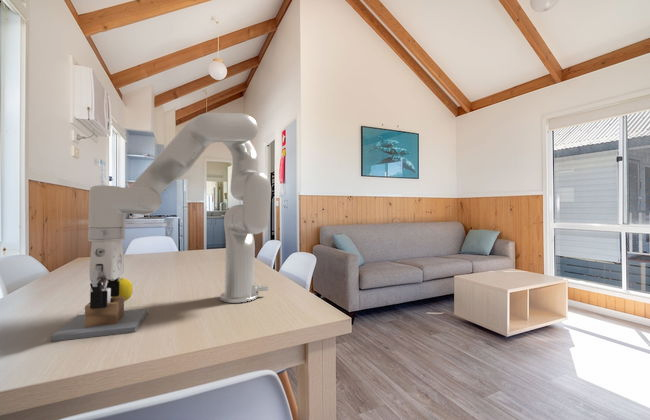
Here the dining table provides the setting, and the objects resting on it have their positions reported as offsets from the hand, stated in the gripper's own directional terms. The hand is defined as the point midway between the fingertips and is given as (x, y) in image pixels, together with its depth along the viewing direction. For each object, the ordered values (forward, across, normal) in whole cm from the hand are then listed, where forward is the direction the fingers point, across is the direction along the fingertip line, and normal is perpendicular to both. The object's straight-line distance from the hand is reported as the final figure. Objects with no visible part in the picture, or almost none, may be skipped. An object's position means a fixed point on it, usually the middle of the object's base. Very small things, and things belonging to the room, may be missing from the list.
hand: (105, 301), depth 74 cm
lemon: (+6, +19, +1) cm, 20 cm away
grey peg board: (+6, 0, 0) cm, 6 cm away
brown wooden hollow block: (+5, 0, 0) cm, 5 cm away
